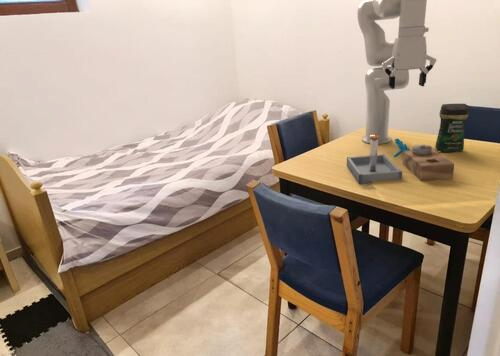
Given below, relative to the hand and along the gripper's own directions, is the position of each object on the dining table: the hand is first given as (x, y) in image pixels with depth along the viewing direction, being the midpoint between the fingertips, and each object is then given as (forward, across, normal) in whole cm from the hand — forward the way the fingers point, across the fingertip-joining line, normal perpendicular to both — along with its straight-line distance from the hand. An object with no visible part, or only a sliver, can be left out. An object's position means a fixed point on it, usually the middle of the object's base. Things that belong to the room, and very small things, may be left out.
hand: (406, 86), depth 124 cm
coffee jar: (+29, -22, -12) cm, 38 cm away
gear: (+29, -4, -8) cm, 30 cm away
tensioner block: (+28, -5, +10) cm, 30 cm away
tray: (+28, +12, +7) cm, 31 cm away
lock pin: (+27, +12, +7) cm, 31 cm away
